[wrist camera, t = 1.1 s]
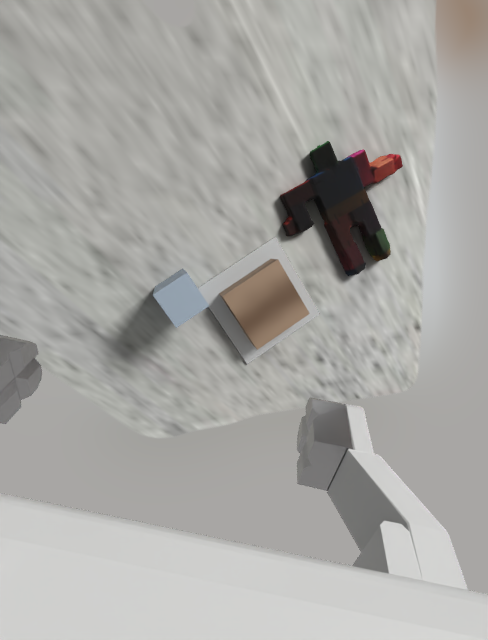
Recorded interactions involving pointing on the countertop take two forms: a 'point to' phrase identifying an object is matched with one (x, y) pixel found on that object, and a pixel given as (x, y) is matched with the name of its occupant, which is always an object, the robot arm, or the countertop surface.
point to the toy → (342, 203)
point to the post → (179, 297)
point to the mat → (234, 274)
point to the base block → (264, 303)
